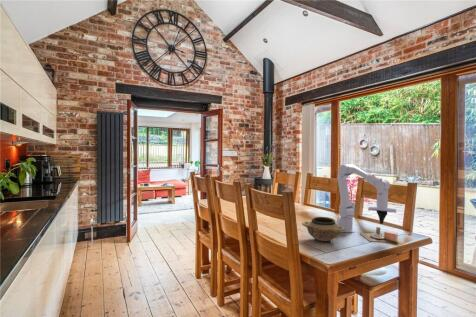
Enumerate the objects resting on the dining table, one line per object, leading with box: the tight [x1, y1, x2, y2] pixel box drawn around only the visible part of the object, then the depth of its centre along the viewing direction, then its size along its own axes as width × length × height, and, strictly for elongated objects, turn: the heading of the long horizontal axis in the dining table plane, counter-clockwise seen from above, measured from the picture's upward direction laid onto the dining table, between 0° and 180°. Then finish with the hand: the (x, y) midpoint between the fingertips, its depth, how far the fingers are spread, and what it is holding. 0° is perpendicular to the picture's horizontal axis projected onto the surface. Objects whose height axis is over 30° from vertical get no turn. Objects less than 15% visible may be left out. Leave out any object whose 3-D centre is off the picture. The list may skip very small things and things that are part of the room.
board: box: [359, 226, 399, 244], centre depth 168 cm, size 16×15×6 cm
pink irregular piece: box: [370, 230, 399, 242], centre depth 165 cm, size 15×9×4 cm, turn 40°
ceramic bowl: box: [301, 216, 345, 245], centre depth 160 cm, size 24×18×15 cm
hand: (381, 223), depth 163 cm, fingers closed
